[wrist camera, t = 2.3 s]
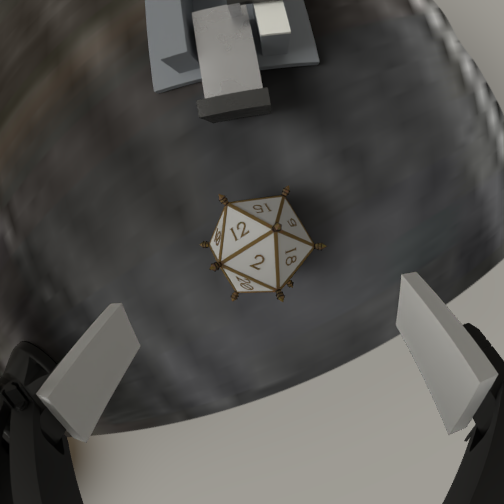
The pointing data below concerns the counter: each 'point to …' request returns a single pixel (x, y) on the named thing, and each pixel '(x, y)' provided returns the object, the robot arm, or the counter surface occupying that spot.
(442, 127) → the counter surface
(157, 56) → the gauge housing
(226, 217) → the game die
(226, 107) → the block with dark end
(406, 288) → the robot arm
